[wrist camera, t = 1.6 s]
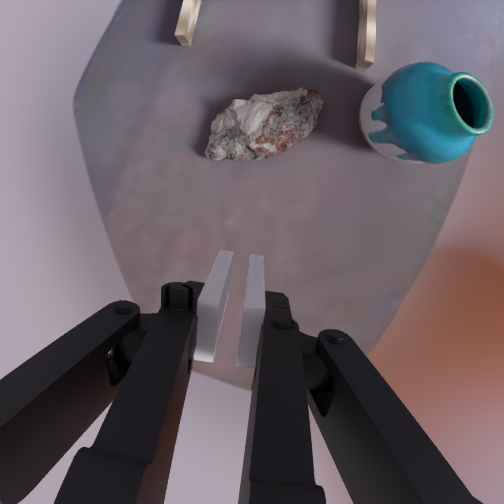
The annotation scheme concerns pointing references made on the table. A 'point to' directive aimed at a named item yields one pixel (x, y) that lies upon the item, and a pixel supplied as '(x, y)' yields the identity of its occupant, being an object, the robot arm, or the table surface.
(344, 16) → the table surface
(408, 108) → the vase
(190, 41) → the u-shaped wooden frame
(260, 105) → the mineral rock
